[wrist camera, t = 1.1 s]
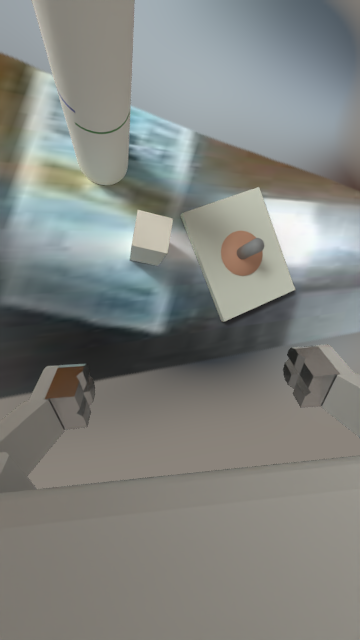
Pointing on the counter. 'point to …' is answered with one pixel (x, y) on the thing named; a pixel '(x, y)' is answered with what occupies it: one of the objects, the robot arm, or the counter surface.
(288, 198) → the counter surface
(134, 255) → the square block
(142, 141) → the counter surface
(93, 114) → the cylindrical container
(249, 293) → the base plate
